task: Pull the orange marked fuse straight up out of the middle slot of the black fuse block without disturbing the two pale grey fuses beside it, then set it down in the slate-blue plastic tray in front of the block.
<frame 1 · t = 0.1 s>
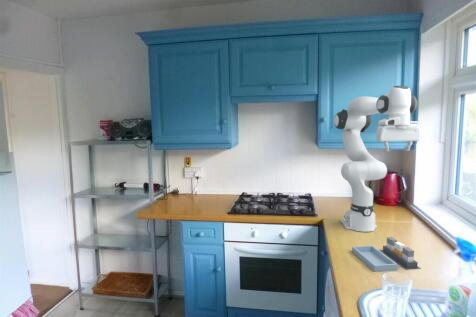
hand: (397, 151, 152), 48 cm above the worktop, tool pointing down, fingers open, 8 cm apart
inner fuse: (391, 253, 150), point 1 cm above the worktop, touching fuse block
outer fuse: (407, 264, 138), point 1 cm above the worktop, touching fuse block
marked fuse: (398, 258, 144), point 1 cm above the worktop, touching fuse block
tray: (373, 262, 143), on the worktop
fuse block: (398, 261, 144), on the worktop
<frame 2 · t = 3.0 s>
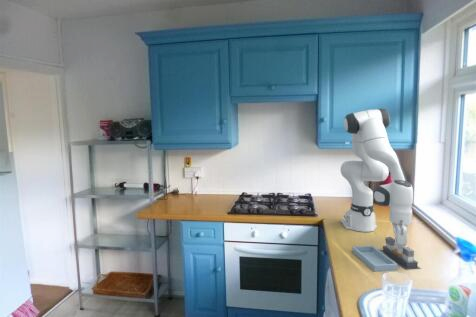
hand: (398, 248, 143), 6 cm above the worktop, tool pointing down, fingers open, 8 cm apart
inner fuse: (391, 253, 150), point 1 cm above the worktop, tilted 7°, touching fuse block
everything else where it was.
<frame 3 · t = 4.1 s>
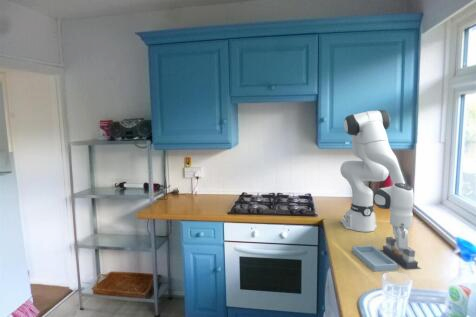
hand: (399, 251, 143), 5 cm above the worktop, tool pointing down, fingers closed on marked fuse, 5 cm apart
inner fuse: (391, 253, 150), point 1 cm above the worktop, touching fuse block, gripper
outer fuse: (407, 264, 138), point 1 cm above the worktop, touching fuse block, gripper
marked fuse: (398, 258, 144), point 1 cm above the worktop, touching fuse block, gripper
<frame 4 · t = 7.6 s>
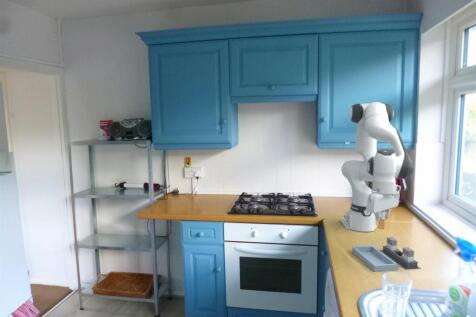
hand: (382, 219, 140), 19 cm above the worktop, tool pointing down, fingers closed on marked fuse, 5 cm apart
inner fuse: (391, 253, 150), point 1 cm above the worktop, touching fuse block
outer fuse: (407, 264, 138), point 1 cm above the worktop, touching fuse block
marked fuse: (381, 227, 141), point 16 cm above the worktop, touching gripper
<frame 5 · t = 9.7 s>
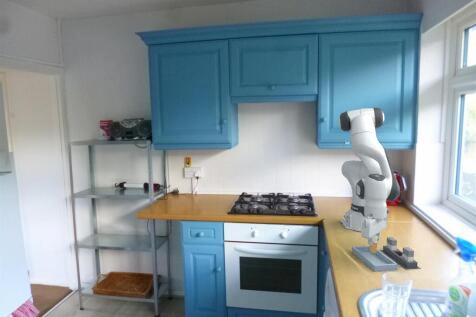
hand: (373, 242, 141), 9 cm above the worktop, tool pointing down, fingers closed on marked fuse, 5 cm apart
marked fuse: (372, 251, 142), point 5 cm above the worktop, touching gripper
everything else where it was.
when the fingers open (6 cm above the worktop, at t = 11.1 s): marked fuse drops 1 cm, resting on tray.
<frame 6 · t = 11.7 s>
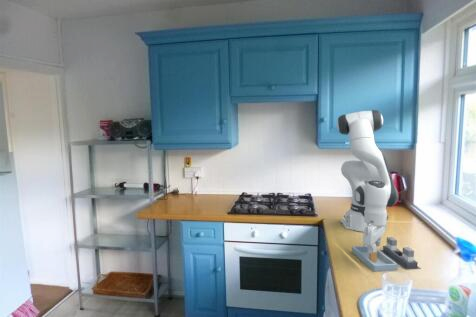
hand: (373, 249, 142), 6 cm above the worktop, tool pointing down, fingers open, 8 cm apart
marked fuse: (372, 260, 143), point 1 cm above the worktop, touching tray
everything else where it was.
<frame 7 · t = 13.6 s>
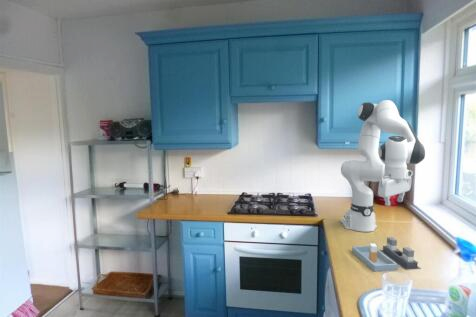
hand: (394, 203, 145), 25 cm above the worktop, tool pointing down, fingers open, 8 cm apart
nothing on the worktop moved.
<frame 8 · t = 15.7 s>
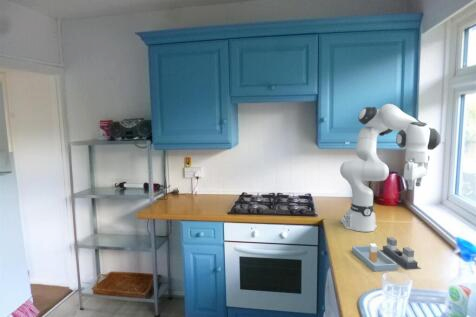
hand: (414, 187, 149), 31 cm above the worktop, tool pointing down, fingers open, 8 cm apart
nothing on the worktop moved.
at the end: marked fuse inside the target area on the tray (0.2 cm from its centre), point 1.0 cm above the tray's base; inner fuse moved 0.0 cm from its start; outer fuse moved 0.0 cm from its start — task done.
